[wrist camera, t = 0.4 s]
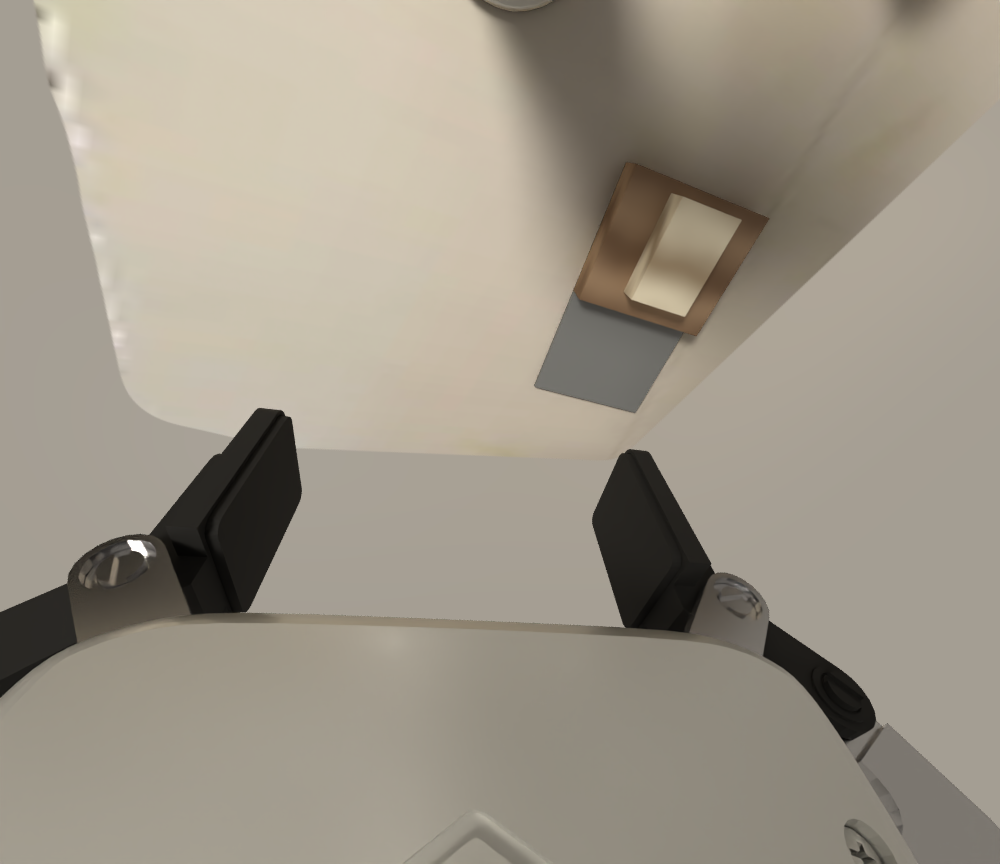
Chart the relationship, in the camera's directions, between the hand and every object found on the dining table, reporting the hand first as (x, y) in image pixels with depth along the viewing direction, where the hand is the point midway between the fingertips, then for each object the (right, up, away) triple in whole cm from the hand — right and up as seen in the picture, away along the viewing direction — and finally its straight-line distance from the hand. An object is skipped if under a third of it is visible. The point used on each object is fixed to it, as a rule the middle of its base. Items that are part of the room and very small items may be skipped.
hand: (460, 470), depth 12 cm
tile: (+18, +17, +26) cm, 36 cm away
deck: (+17, +19, +30) cm, 40 cm away
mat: (+14, +10, +37) cm, 40 cm away
